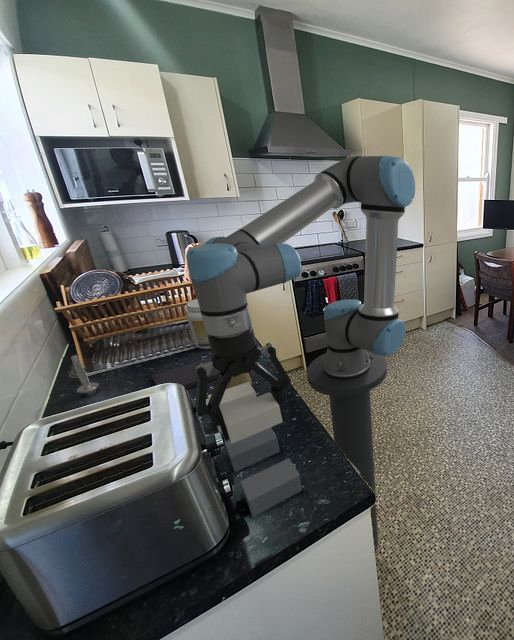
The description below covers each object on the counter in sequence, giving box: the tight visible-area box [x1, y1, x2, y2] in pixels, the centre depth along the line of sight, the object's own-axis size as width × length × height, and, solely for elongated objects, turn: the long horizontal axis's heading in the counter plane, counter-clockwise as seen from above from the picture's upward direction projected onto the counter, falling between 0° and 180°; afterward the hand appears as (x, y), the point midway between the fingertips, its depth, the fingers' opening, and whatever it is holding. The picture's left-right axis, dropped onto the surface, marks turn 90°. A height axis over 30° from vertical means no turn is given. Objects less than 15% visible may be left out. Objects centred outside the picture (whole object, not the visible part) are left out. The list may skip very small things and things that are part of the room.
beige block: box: [207, 382, 257, 410], centre depth 91 cm, size 10×6×4 cm, turn 130°
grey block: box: [224, 427, 281, 473], centre depth 82 cm, size 10×6×4 cm, turn 130°
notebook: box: [152, 357, 219, 390], centre depth 112 cm, size 13×2×21 cm
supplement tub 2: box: [185, 298, 211, 350], centre depth 130 cm, size 12×12×17 cm
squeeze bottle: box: [219, 371, 252, 389], centre depth 100 cm, size 8×8×18 cm
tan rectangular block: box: [221, 391, 283, 444], centre depth 72 cm, size 10×6×4 cm, turn 130°
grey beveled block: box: [240, 457, 303, 518], centre depth 72 cm, size 10×6×4 cm, turn 130°
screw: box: [70, 355, 100, 397], centre depth 100 cm, size 13×5×5 cm
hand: (253, 423), depth 73 cm, fingers closed on tan rectangular block, 10 cm apart
